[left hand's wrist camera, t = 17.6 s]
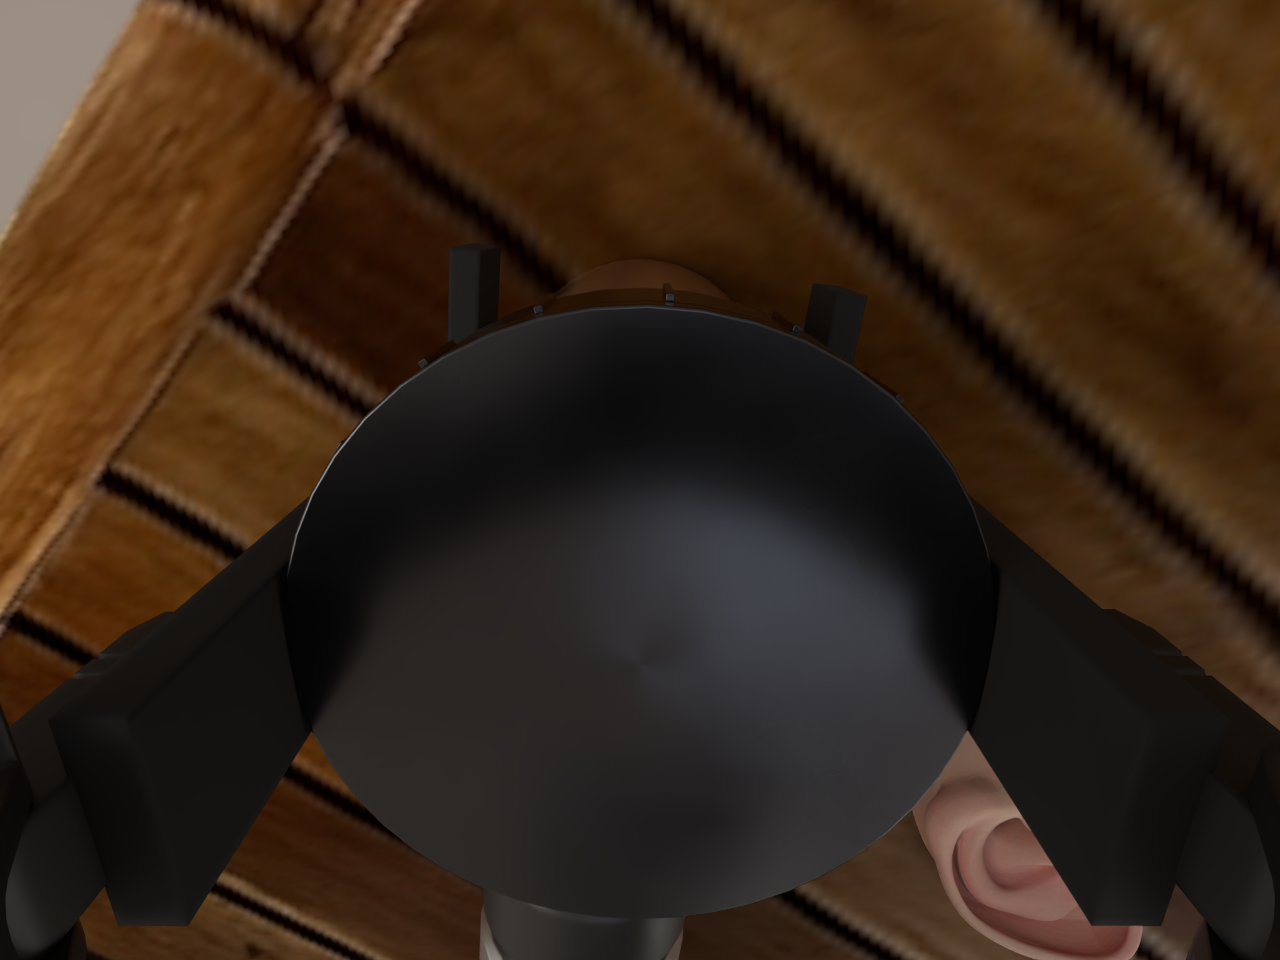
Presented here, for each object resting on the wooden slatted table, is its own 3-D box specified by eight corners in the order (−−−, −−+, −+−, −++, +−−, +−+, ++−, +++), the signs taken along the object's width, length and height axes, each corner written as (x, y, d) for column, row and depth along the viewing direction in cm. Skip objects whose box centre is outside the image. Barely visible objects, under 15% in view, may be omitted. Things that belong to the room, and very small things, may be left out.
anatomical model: (990, 707, 27) (1279, 750, 27) (947, 646, 31) (1203, 685, 31) (887, 958, 31) (1138, 989, 32) (861, 878, 35) (1085, 908, 36)
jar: (796, 432, 28) (1021, 745, 11) (592, 530, 29) (530, 932, 13) (695, 211, 25) (800, 207, 9) (475, 331, 26) (207, 521, 10)
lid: (787, 145, 10) (823, 127, 8) (1024, 688, 13) (1094, 776, 11) (212, 478, 11) (122, 533, 9) (542, 890, 14) (527, 998, 12)
